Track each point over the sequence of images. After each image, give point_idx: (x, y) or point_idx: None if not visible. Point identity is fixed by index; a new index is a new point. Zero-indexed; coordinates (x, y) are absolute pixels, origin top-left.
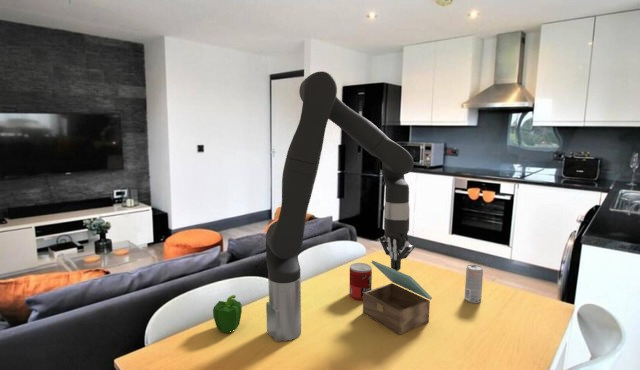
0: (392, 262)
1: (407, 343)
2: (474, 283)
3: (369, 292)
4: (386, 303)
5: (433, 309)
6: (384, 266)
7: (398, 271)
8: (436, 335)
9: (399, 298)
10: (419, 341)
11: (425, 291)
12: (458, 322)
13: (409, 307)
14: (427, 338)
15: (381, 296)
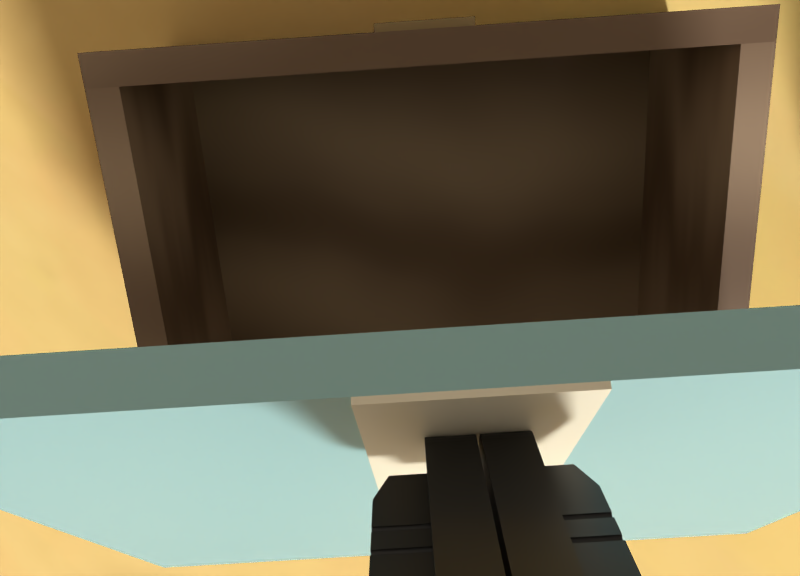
0: (535, 549)
1: (31, 18)
2: None
3: (732, 96)
4: (638, 310)
5: (360, 564)
6: (686, 350)
7: (197, 402)
8: (41, 313)
9: None
10: (19, 133)
11: (99, 540)
12: (125, 569)
13: (139, 244)
14: (32, 222)
15: (674, 273)
